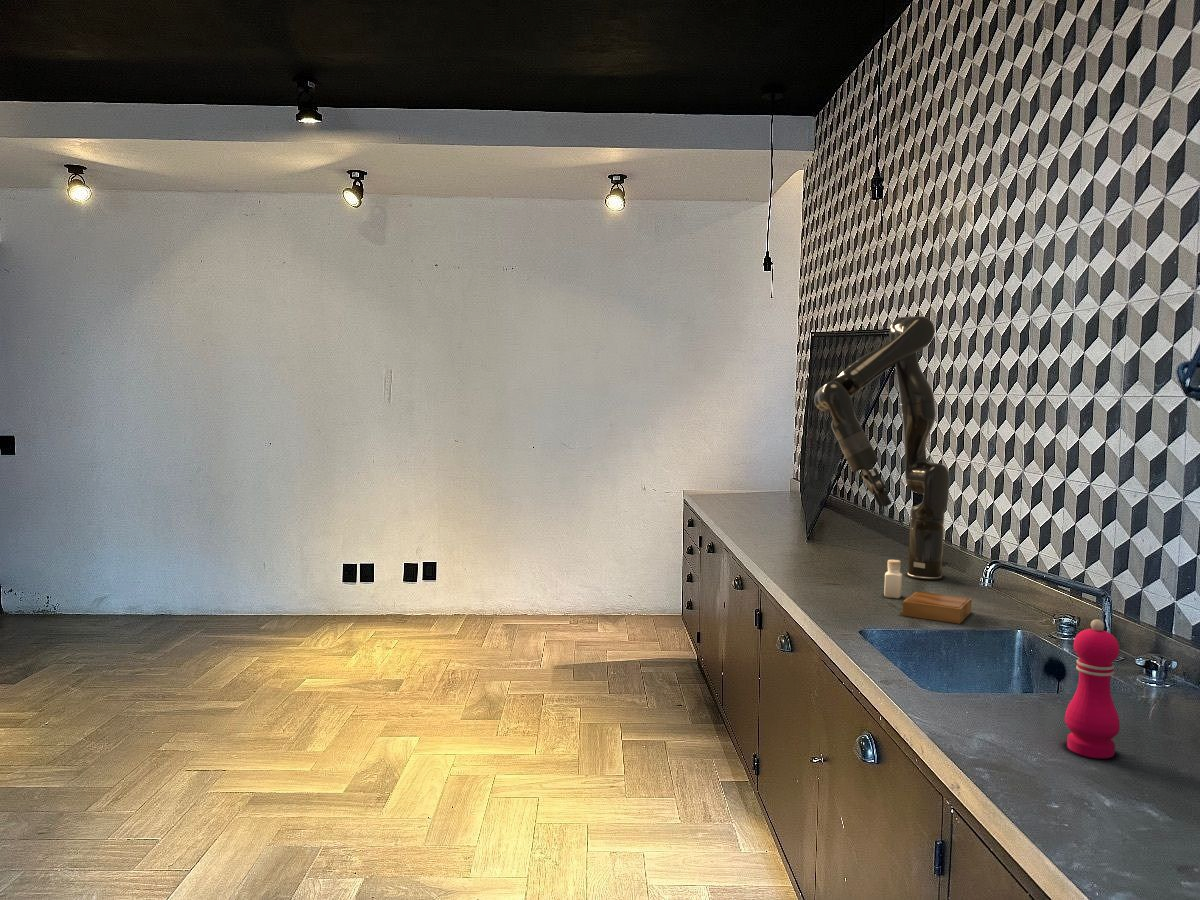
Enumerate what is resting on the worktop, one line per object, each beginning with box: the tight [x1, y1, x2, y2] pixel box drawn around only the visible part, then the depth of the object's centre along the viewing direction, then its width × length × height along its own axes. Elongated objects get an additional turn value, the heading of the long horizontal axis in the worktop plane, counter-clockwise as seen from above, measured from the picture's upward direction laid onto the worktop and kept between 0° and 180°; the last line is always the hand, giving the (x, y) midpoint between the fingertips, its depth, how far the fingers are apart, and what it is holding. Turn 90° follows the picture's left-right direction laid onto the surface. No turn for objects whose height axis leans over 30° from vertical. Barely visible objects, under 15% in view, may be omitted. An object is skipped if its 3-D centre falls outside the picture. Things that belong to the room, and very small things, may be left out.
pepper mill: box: [1064, 618, 1121, 760], centre depth 135 cm, size 7×7×20 cm
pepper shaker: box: [883, 559, 903, 599], centre depth 236 cm, size 4×4×10 cm
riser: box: [902, 591, 972, 625], centre depth 219 cm, size 13×13×4 cm
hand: (885, 505), depth 243 cm, fingers open, 8 cm apart
